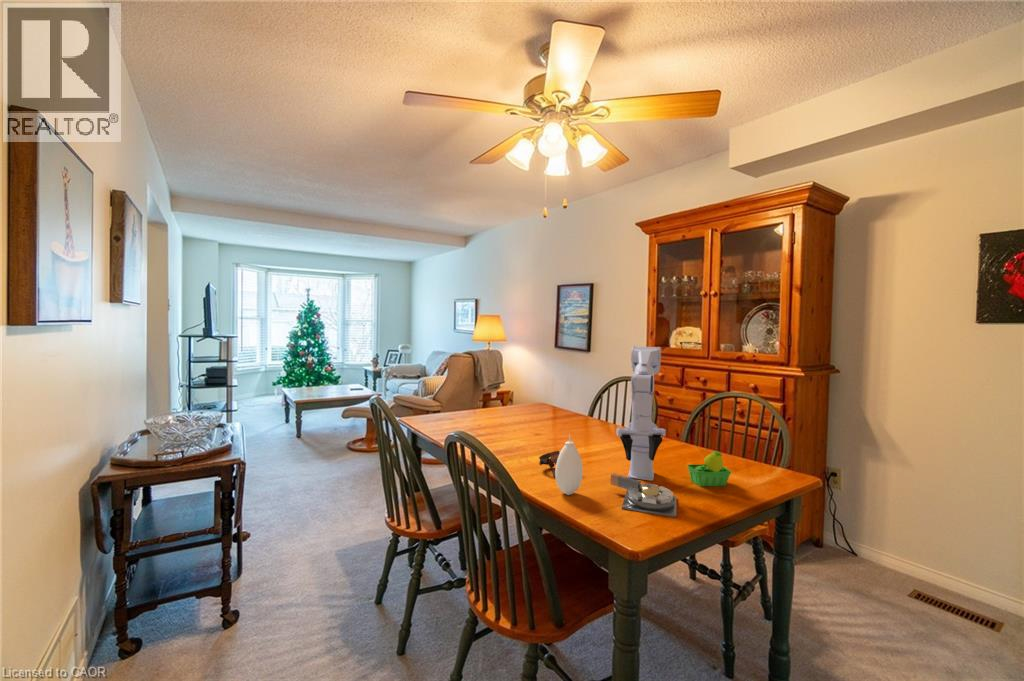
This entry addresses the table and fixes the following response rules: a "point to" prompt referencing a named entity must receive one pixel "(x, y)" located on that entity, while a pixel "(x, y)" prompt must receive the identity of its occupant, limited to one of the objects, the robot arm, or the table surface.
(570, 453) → the air blower bulb
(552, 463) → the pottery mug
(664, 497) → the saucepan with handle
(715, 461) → the fruit basket
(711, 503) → the table surface
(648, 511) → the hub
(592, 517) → the table surface
